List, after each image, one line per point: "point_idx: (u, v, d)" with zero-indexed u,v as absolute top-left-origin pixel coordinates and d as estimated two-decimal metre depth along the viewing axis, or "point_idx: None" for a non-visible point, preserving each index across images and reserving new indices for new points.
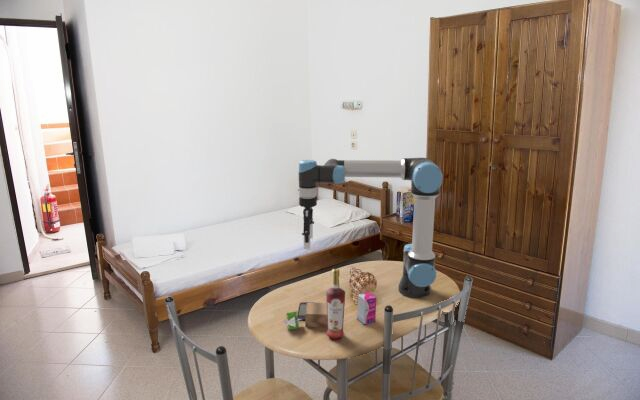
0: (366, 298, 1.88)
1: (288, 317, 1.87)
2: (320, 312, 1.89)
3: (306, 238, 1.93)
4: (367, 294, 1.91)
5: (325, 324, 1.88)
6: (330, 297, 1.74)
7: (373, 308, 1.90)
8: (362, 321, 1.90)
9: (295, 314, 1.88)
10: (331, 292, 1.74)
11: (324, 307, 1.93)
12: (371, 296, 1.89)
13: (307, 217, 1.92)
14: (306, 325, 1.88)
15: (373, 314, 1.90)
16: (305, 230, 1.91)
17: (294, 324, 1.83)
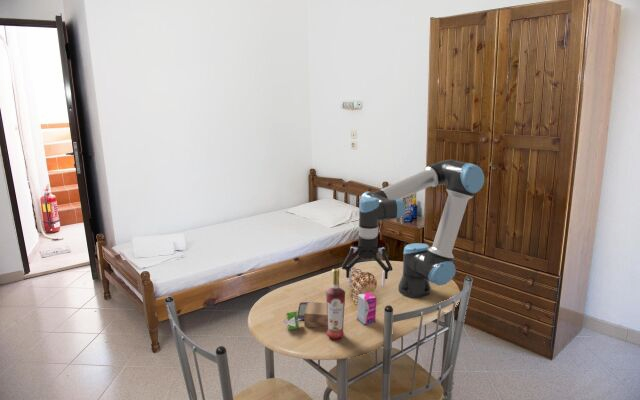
0: (366, 298, 1.88)
1: (288, 317, 1.87)
2: (320, 312, 1.88)
3: (346, 272, 1.88)
4: (367, 294, 1.91)
5: (324, 324, 1.88)
6: (330, 297, 1.74)
7: (373, 308, 1.90)
8: (362, 321, 1.90)
9: (295, 314, 1.88)
10: (331, 292, 1.74)
11: (324, 307, 1.92)
12: (371, 296, 1.89)
13: (349, 252, 1.85)
14: (305, 325, 1.89)
15: (373, 314, 1.90)
16: (343, 263, 1.87)
17: (294, 324, 1.83)
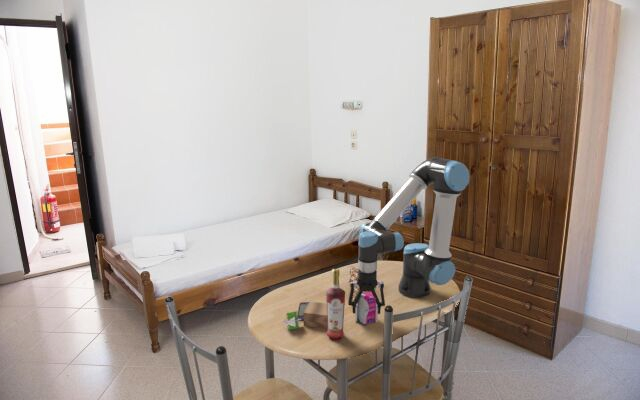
0: (366, 298, 1.88)
1: (288, 317, 1.87)
2: (319, 312, 1.88)
3: None
4: (367, 294, 1.91)
5: (323, 324, 1.87)
6: (330, 297, 1.74)
7: (373, 308, 1.89)
8: (362, 321, 1.90)
9: (295, 314, 1.88)
10: (331, 292, 1.74)
11: (324, 307, 1.92)
12: (371, 296, 1.89)
13: (351, 288, 1.89)
14: (304, 324, 1.89)
15: (373, 314, 1.90)
16: None
17: (294, 324, 1.83)
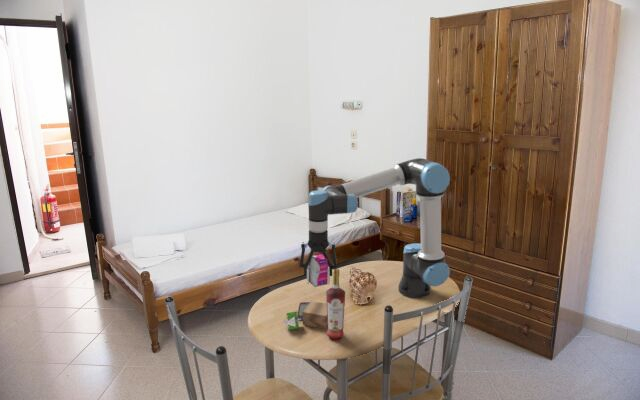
0: (317, 259, 1.84)
1: (288, 317, 1.87)
2: (318, 312, 1.88)
3: (304, 270, 1.88)
4: (319, 256, 1.87)
5: (321, 325, 1.87)
6: (330, 297, 1.74)
7: (324, 270, 1.85)
8: (313, 283, 1.86)
9: (295, 314, 1.88)
10: (331, 292, 1.74)
11: (324, 307, 1.92)
12: (322, 258, 1.85)
13: (302, 249, 1.85)
14: (303, 323, 1.90)
15: (324, 276, 1.86)
16: None
17: (294, 324, 1.83)
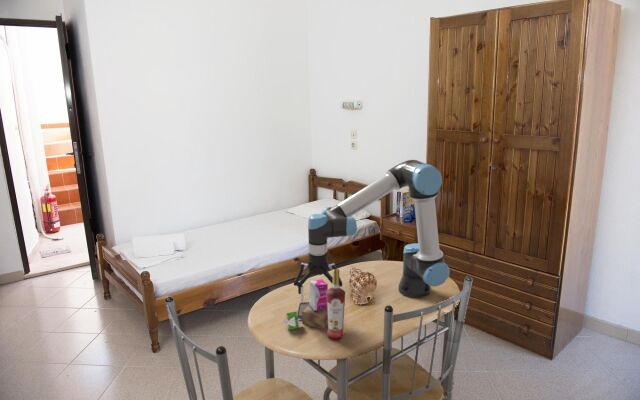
0: (317, 284, 1.87)
1: (288, 317, 1.87)
2: (317, 312, 1.88)
3: None
4: (319, 281, 1.90)
5: (320, 325, 1.87)
6: (330, 297, 1.74)
7: (324, 295, 1.88)
8: (313, 308, 1.89)
9: (295, 314, 1.88)
10: (331, 292, 1.74)
11: None
12: (322, 283, 1.88)
13: (300, 269, 1.87)
14: (303, 322, 1.90)
15: (324, 301, 1.89)
16: (295, 279, 1.89)
17: (294, 324, 1.83)
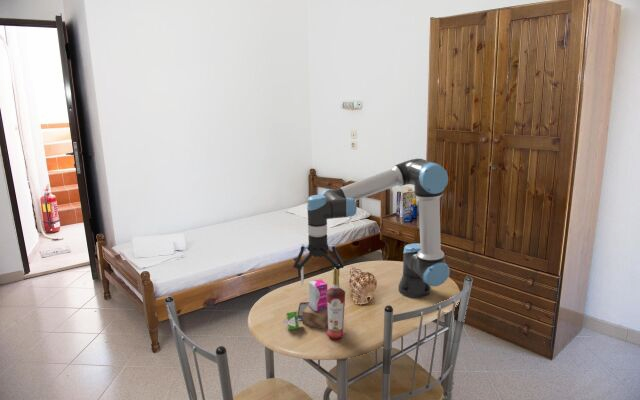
0: (317, 285, 1.87)
1: (288, 317, 1.87)
2: (318, 312, 1.89)
3: (298, 271, 1.88)
4: (319, 281, 1.90)
5: (320, 325, 1.87)
6: (330, 297, 1.74)
7: (324, 295, 1.89)
8: (313, 308, 1.89)
9: (295, 314, 1.88)
10: (331, 292, 1.74)
11: None
12: (322, 283, 1.88)
13: (300, 251, 1.85)
14: (303, 322, 1.91)
15: (324, 301, 1.89)
16: (295, 261, 1.87)
17: (294, 324, 1.83)
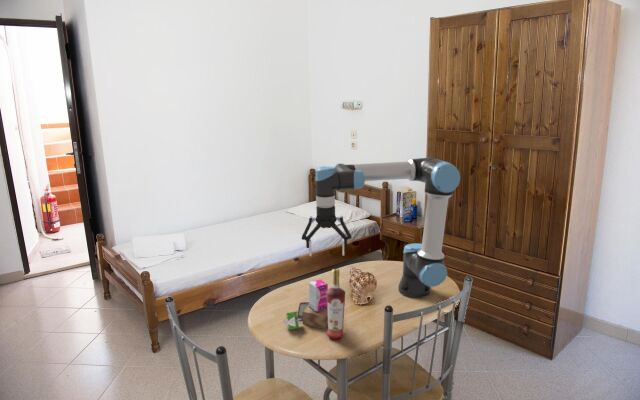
0: (317, 285, 1.87)
1: (288, 317, 1.87)
2: (318, 312, 1.88)
3: (306, 243, 1.90)
4: (319, 281, 1.90)
5: (321, 325, 1.87)
6: (330, 297, 1.74)
7: (325, 295, 1.89)
8: (314, 308, 1.89)
9: (295, 314, 1.88)
10: (331, 292, 1.74)
11: None
12: (322, 283, 1.88)
13: None
14: (303, 323, 1.90)
15: (325, 301, 1.89)
16: (303, 233, 1.89)
17: (294, 324, 1.83)
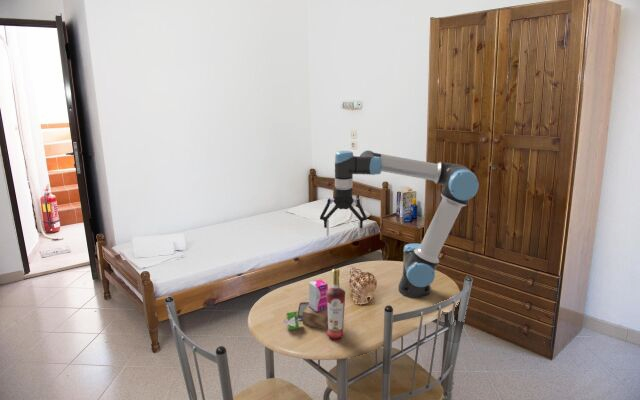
0: (317, 285, 1.87)
1: (288, 317, 1.87)
2: (318, 312, 1.88)
3: (324, 223, 2.01)
4: (319, 281, 1.90)
5: (321, 325, 1.87)
6: (330, 297, 1.74)
7: (325, 295, 1.89)
8: (314, 308, 1.89)
9: (295, 314, 1.88)
10: (331, 292, 1.74)
11: None
12: (322, 283, 1.88)
13: (327, 203, 1.98)
14: (303, 323, 1.90)
15: (324, 301, 1.89)
16: (321, 214, 2.00)
17: (294, 324, 1.83)
